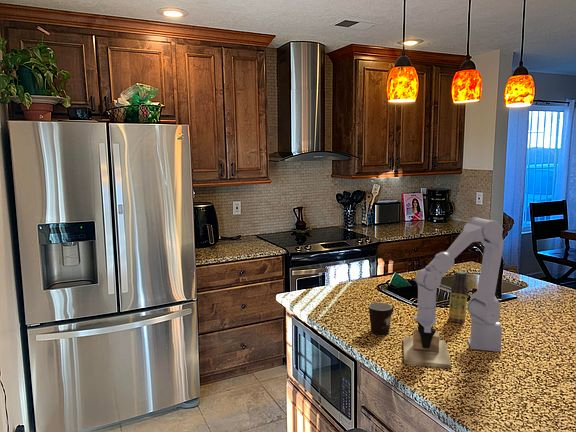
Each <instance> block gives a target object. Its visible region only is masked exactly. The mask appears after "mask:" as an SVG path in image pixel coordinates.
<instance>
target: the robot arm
mask: <svg viewBox="0 0 576 432" xmlns="http://www.w3.org/2000/svg"><path fill="white" fill-rule="evenodd" d="M503 231H504V228H503V226H502V225H501V224H500V223H499V222H498V221H496V220H491V219H485V218H481V217H477V216H474V217H472V218H470V219H469V221H468V222H466V223H465V224H464V226H463V229H462V231H461V232H460V234H459V235H458V236H457V237H456V238H455V239H454V241H453V242H452V243H451V245H450V246H449V247H448V249H447V250H445V251H440V252H439V253H436V254H435V255H434V258H432V260H431V261H430V262H429V264H428V265H427V264H426V266H425V268H422V269H419V270H418V271H417V272H416V275H415V276H414V281H415V282H416V285H417V311H416V312H417V316H413V321H416V323H417V325H418V326H417V330H418V331H419V333H420V336H421V342H422V347H423V348H428V349H429V348H430V344H431V340H432V337H433V335H434V334H435V332H437V330H436V328H433V327H434V326H435V324H436V322H437V317H436V315H437V312H436V311H437V291H438V290H437V288H438V287H440V285H441V283H442V279H443V276H444V275H446V273H447V272H448V271H449V270H450V269H452V267H453V266H454V265H455V259H456V258H457V257H458V256H459V255H460V254H461V253H462V252H463V251H464V250H465V249H466V248H467V247H469V246H470V245H471V244H472V243H477V242H480V243H481V244H482V245H483V246H484V249H483V255H482V261H481V267H480V272H479V277H478V284H477V290H476V291H475V292H473V293H472V294H471V296H470V300H469V301H468V302H467V305H466V311H467V312H468V313H469V314H470V318H471V319H470V338H469V337H468V338H467V342H468V345H469V348H470V349H471V350H479V351H490V352H499V353H500V352H502V341H503V340H502V339H503V338H502V337H503V327H502V324H501V322H500V321H499V319H500V317H501V310H500V301H499V300H498V299H497V297H496V290H497V286H498V285H497V284H498V279H499V271H500V267H501V262H502V256H503V251H504V237H503Z"/></svg>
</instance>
